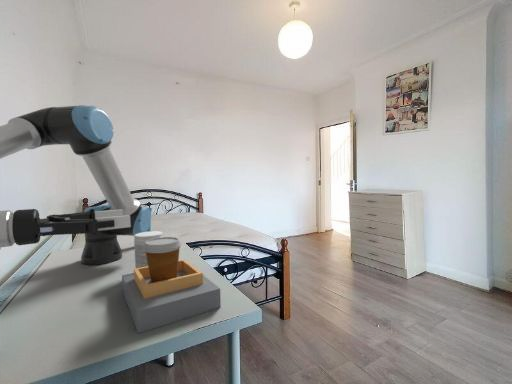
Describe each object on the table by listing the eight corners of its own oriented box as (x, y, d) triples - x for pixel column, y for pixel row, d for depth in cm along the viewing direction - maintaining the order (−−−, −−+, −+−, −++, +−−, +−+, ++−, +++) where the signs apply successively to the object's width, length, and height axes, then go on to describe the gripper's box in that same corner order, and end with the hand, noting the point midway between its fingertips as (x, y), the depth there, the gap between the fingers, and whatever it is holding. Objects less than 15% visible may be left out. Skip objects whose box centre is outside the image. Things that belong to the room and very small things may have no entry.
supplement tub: (167, 275, 91) (166, 234, 90) (138, 281, 86) (136, 237, 85) (160, 267, 99) (159, 229, 98) (133, 273, 94) (131, 233, 93)
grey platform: (121, 286, 82) (119, 262, 81) (183, 273, 93) (182, 251, 93) (138, 333, 57) (136, 297, 57) (220, 307, 68) (219, 277, 68)
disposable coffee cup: (141, 294, 64) (139, 246, 64) (149, 279, 74) (147, 237, 73) (181, 290, 66) (179, 243, 66) (183, 276, 76) (182, 235, 75)
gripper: (26, 234, 65) (120, 224, 77) (0, 261, 45) (135, 241, 56) (24, 205, 65) (119, 199, 77) (-3, 218, 44) (133, 207, 56)
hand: (126, 217), depth 67 cm, fingers open, 13 cm apart
